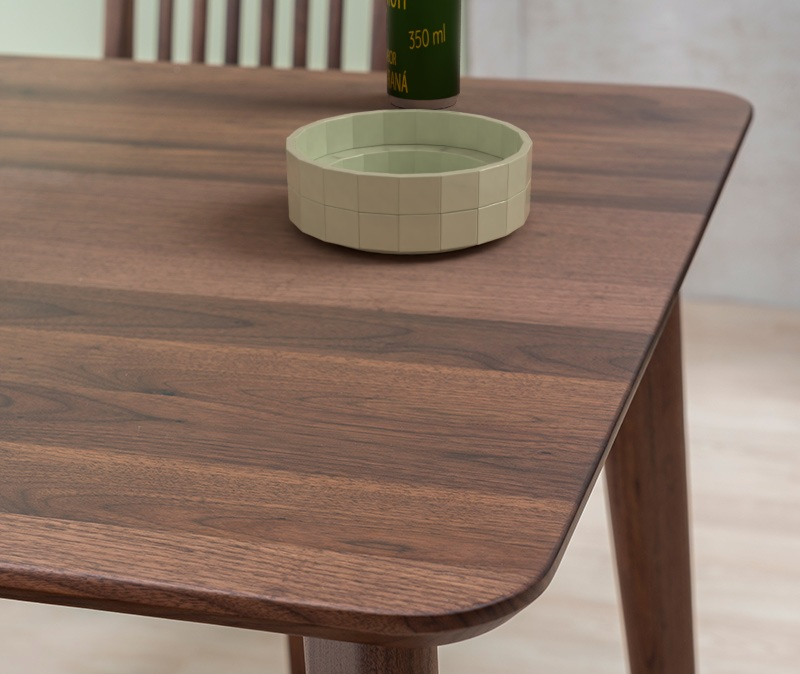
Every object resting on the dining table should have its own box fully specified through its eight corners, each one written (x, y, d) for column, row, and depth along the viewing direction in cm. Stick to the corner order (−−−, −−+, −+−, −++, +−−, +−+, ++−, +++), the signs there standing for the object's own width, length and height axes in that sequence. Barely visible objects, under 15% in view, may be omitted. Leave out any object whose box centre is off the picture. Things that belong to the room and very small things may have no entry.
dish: (256, 252, 65) (251, 166, 63) (328, 178, 76) (326, 103, 74) (507, 272, 62) (510, 184, 60) (543, 192, 73) (546, 115, 71)
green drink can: (439, 89, 96) (440, -78, 90) (472, 105, 91) (476, -70, 86) (374, 97, 93) (372, -74, 88) (406, 114, 89) (405, -65, 84)
